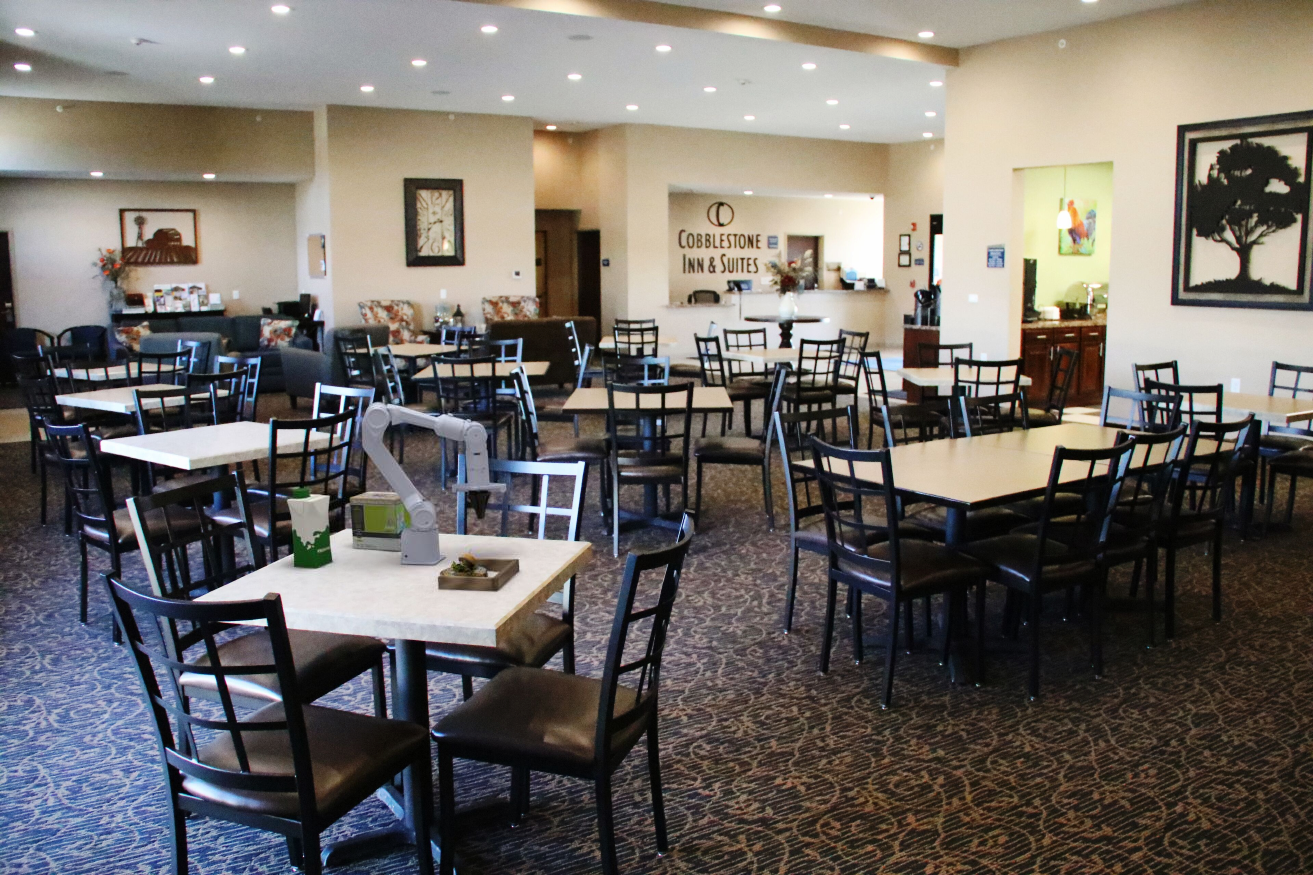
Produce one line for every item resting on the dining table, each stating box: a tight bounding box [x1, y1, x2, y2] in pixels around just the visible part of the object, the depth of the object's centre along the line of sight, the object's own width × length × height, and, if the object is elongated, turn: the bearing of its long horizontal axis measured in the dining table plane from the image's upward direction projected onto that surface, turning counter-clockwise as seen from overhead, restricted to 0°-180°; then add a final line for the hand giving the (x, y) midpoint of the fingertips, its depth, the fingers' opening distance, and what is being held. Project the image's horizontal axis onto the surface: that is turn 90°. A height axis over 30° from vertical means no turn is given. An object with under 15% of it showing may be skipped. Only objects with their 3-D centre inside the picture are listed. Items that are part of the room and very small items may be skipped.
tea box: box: [349, 490, 412, 552], centre depth 289 cm, size 15×10×15 cm
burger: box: [439, 549, 489, 577], centre depth 257 cm, size 12×12×8 cm
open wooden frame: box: [437, 557, 520, 592], centre depth 255 cm, size 15×17×3 cm
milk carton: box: [286, 487, 333, 569], centre depth 271 cm, size 9×9×20 cm
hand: (481, 518), depth 275 cm, fingers closed
